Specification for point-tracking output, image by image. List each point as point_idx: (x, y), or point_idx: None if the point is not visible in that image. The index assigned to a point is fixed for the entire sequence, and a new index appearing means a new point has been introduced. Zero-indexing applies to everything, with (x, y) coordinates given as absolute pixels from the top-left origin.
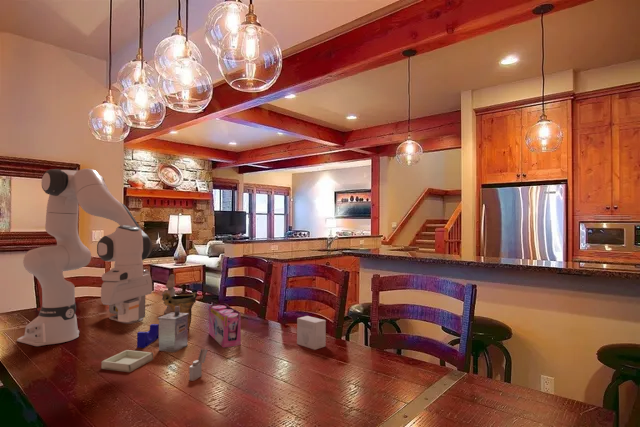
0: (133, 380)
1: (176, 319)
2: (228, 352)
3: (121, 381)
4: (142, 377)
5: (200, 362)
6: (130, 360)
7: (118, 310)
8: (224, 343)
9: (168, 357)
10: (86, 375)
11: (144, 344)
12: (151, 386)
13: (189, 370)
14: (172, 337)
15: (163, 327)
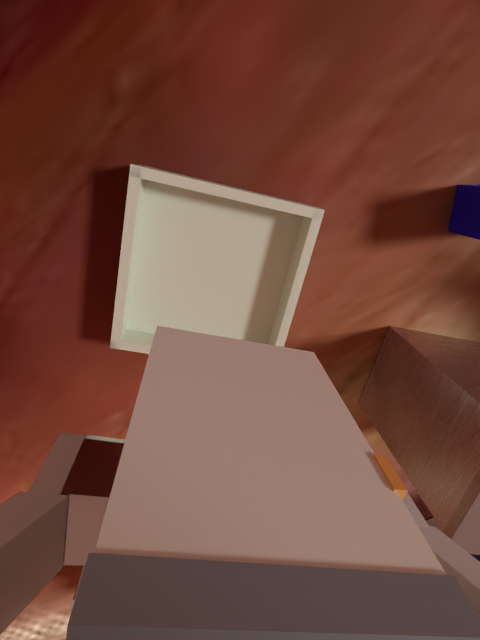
0: (44, 389)
1: None
2: None
3: (22, 349)
4: (79, 406)
5: None
6: (237, 271)
7: (37, 482)
8: None
9: None
10: (41, 132)
11: (459, 233)
12: (12, 471)
13: (77, 585)
14: (394, 437)
15: (451, 422)
